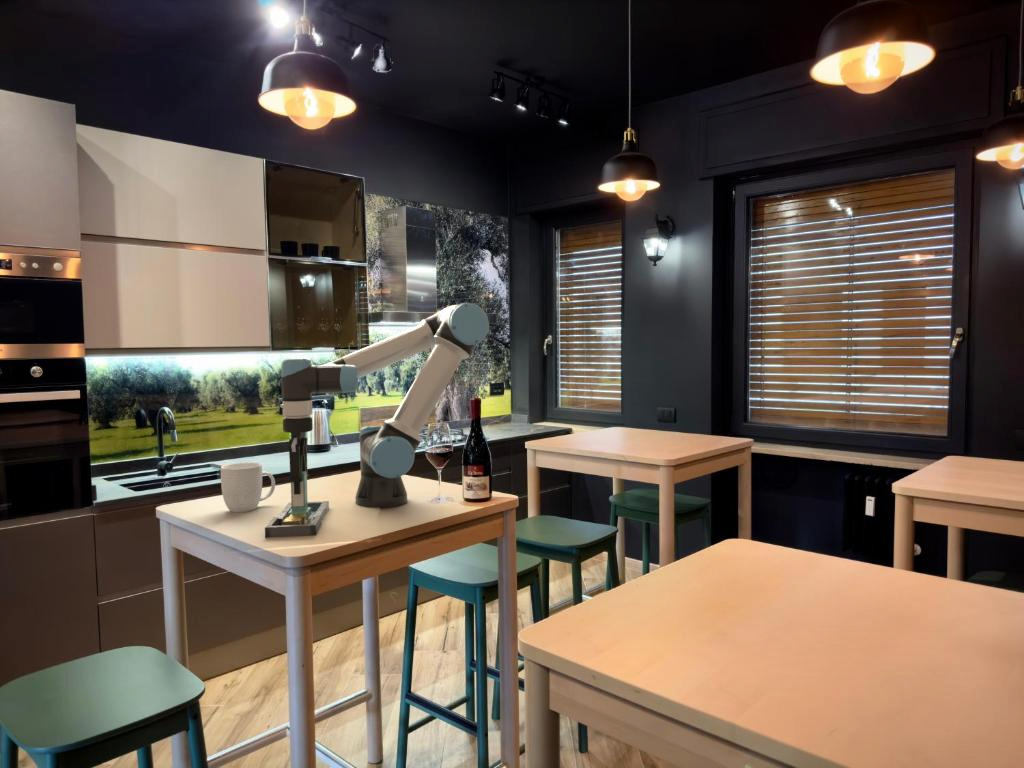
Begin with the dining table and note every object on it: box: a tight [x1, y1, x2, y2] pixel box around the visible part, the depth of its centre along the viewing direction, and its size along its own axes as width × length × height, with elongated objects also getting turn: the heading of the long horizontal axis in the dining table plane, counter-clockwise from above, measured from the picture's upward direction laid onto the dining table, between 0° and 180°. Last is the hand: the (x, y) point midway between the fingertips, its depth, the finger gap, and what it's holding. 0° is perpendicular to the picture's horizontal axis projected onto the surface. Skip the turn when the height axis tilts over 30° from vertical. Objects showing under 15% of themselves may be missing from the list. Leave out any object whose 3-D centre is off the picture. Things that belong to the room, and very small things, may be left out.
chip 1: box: [283, 517, 303, 525], centre depth 175 cm, size 4×4×2 cm
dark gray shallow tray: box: [277, 500, 330, 526], centre depth 187 cm, size 11×18×2 cm, turn 7°
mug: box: [220, 461, 276, 513], centre depth 198 cm, size 15×11×13 cm
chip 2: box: [289, 513, 307, 525], centre depth 179 cm, size 4×4×2 cm
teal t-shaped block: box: [288, 471, 311, 519], centre depth 183 cm, size 5×5×12 cm
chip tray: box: [264, 515, 323, 539], centre depth 173 cm, size 12×10×3 cm
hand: (299, 503), depth 184 cm, fingers closed on teal t-shaped block, 3 cm apart
